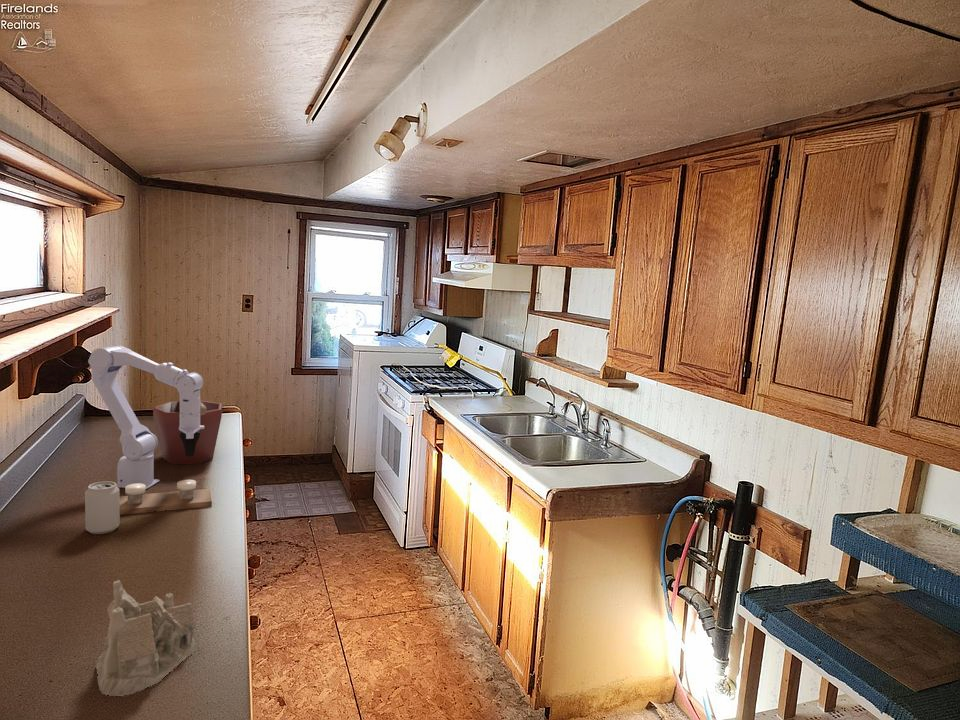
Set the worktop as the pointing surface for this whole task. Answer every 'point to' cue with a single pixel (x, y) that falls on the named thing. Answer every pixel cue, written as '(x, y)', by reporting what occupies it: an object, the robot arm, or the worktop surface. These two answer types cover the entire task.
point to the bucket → (170, 433)
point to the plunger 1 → (135, 489)
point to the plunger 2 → (186, 485)
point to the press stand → (164, 501)
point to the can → (102, 507)
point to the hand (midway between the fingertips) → (189, 455)
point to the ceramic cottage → (143, 642)
